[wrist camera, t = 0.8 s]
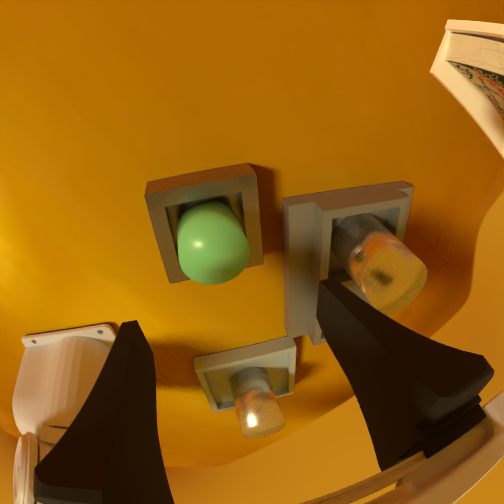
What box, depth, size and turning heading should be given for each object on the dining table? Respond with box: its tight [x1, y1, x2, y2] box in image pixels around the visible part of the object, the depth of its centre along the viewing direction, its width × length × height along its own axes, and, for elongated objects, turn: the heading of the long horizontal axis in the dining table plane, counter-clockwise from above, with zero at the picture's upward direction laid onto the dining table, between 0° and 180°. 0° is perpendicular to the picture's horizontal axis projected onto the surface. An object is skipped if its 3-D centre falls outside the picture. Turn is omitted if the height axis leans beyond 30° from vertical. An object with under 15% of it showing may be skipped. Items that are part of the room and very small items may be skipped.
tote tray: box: [193, 336, 296, 413], centre depth 29 cm, size 9×9×1 cm
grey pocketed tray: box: [282, 181, 413, 346], centre depth 23 cm, size 10×13×3 cm
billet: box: [229, 367, 286, 438], centre depth 26 cm, size 4×4×6 cm
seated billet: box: [330, 213, 427, 315], centre depth 19 cm, size 4×4×6 cm
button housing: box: [144, 163, 264, 284], centre depth 18 cm, size 6×6×2 cm
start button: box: [177, 201, 250, 285], centre depth 16 cm, size 4×4×3 cm
